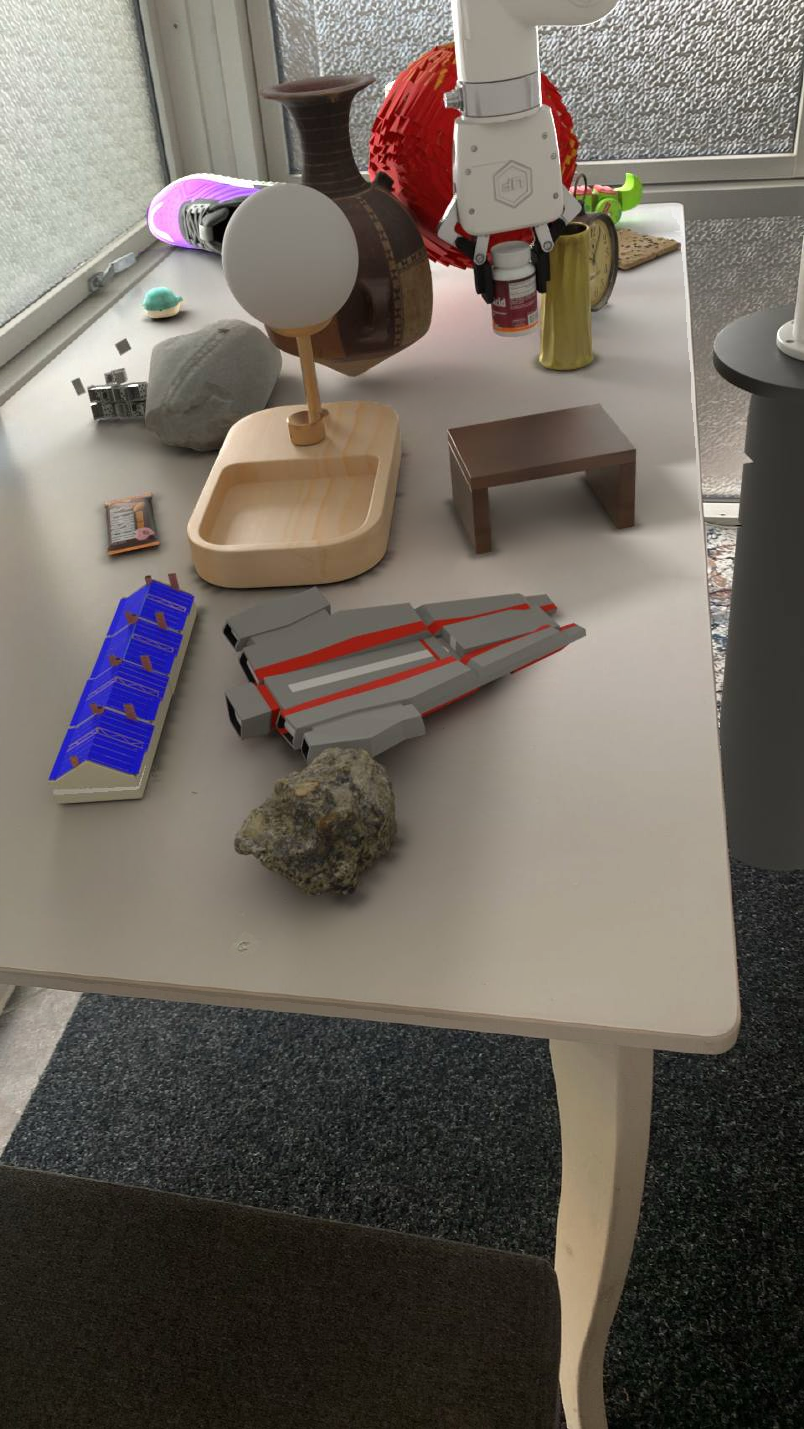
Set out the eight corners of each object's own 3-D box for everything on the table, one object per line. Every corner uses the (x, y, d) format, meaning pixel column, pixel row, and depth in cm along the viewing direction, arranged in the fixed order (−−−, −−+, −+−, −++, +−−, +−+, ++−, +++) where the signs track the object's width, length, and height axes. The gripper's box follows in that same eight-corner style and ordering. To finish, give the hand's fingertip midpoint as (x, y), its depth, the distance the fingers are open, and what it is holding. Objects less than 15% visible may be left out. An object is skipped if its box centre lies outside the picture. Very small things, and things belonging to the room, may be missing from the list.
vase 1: (435, 407, 120) (407, 94, 101) (259, 420, 122) (200, 116, 104) (443, 331, 138) (420, 52, 119) (289, 343, 140) (243, 72, 121)
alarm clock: (581, 334, 132) (580, 188, 122) (540, 329, 135) (536, 185, 125) (621, 303, 139) (623, 162, 129) (581, 299, 141) (581, 160, 131)
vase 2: (569, 346, 130) (567, 217, 121) (605, 359, 126) (606, 226, 117) (528, 361, 128) (523, 231, 119) (563, 375, 123) (561, 241, 115)
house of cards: (61, 344, 124) (101, 333, 130) (81, 422, 128) (119, 408, 134) (129, 337, 121) (166, 326, 127) (147, 418, 124) (182, 404, 131)
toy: (580, 129, 141) (650, 103, 114) (482, 300, 148) (526, 313, 120) (424, 18, 135) (459, -38, 107) (330, 202, 142) (339, 193, 114)
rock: (232, 913, 67) (274, 785, 74) (377, 928, 65) (407, 796, 72) (212, 858, 63) (259, 727, 69) (366, 872, 61) (399, 738, 68)
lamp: (382, 582, 93) (340, 273, 77) (182, 593, 95) (101, 294, 80) (408, 416, 119) (380, 159, 103) (250, 428, 121) (199, 177, 105)
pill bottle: (486, 328, 118) (479, 246, 113) (527, 318, 119) (522, 236, 114) (504, 342, 115) (497, 258, 109) (546, 330, 116) (541, 247, 110)
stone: (155, 302, 132) (282, 306, 133) (159, 355, 136) (283, 359, 137) (126, 406, 112) (276, 411, 114) (133, 464, 117) (277, 468, 118)
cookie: (625, 271, 149) (626, 263, 148) (558, 255, 156) (558, 248, 155) (683, 247, 154) (683, 239, 154) (615, 232, 162) (615, 225, 161)
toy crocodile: (516, 240, 163) (514, 195, 159) (506, 230, 168) (505, 187, 165) (648, 222, 164) (649, 177, 160) (634, 213, 169) (635, 169, 166)
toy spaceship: (504, 539, 91) (500, 592, 94) (188, 610, 82) (194, 666, 85) (643, 659, 77) (633, 717, 80) (281, 761, 68) (285, 822, 71)
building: (145, 800, 75) (130, 755, 72) (56, 805, 75) (38, 762, 73) (199, 611, 93) (188, 570, 90) (127, 617, 93) (114, 576, 91)
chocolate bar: (161, 547, 102) (158, 540, 102) (107, 559, 101) (105, 551, 101) (153, 495, 111) (151, 488, 110) (104, 505, 110) (102, 498, 109)
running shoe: (151, 177, 179) (101, 203, 169) (313, 163, 168) (271, 189, 158) (169, 246, 185) (122, 275, 175) (327, 237, 174) (287, 267, 164)
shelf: (599, 476, 104) (599, 402, 100) (634, 526, 96) (636, 449, 92) (453, 501, 103) (446, 428, 99) (476, 554, 95) (470, 477, 91)
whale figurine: (141, 323, 153) (134, 295, 150) (147, 306, 158) (140, 278, 156) (183, 318, 153) (176, 290, 150) (188, 300, 158) (182, 273, 156)
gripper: (417, 120, 100) (439, 322, 111) (601, 87, 101) (604, 290, 112) (403, 106, 106) (426, 299, 117) (577, 75, 107) (583, 269, 118)
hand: (513, 293), depth 115 cm, fingers closed on pill bottle, 4 cm apart
